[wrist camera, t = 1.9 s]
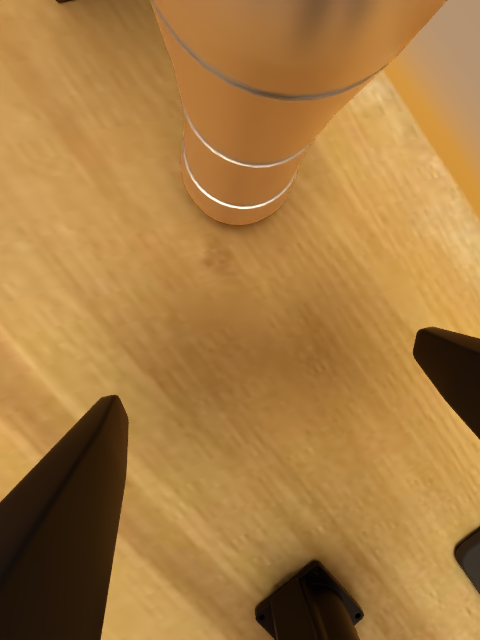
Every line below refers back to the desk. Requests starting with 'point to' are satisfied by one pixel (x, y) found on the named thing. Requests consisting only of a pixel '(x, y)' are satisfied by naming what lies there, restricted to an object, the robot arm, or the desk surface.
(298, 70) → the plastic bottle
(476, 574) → the phone
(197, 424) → the desk surface
